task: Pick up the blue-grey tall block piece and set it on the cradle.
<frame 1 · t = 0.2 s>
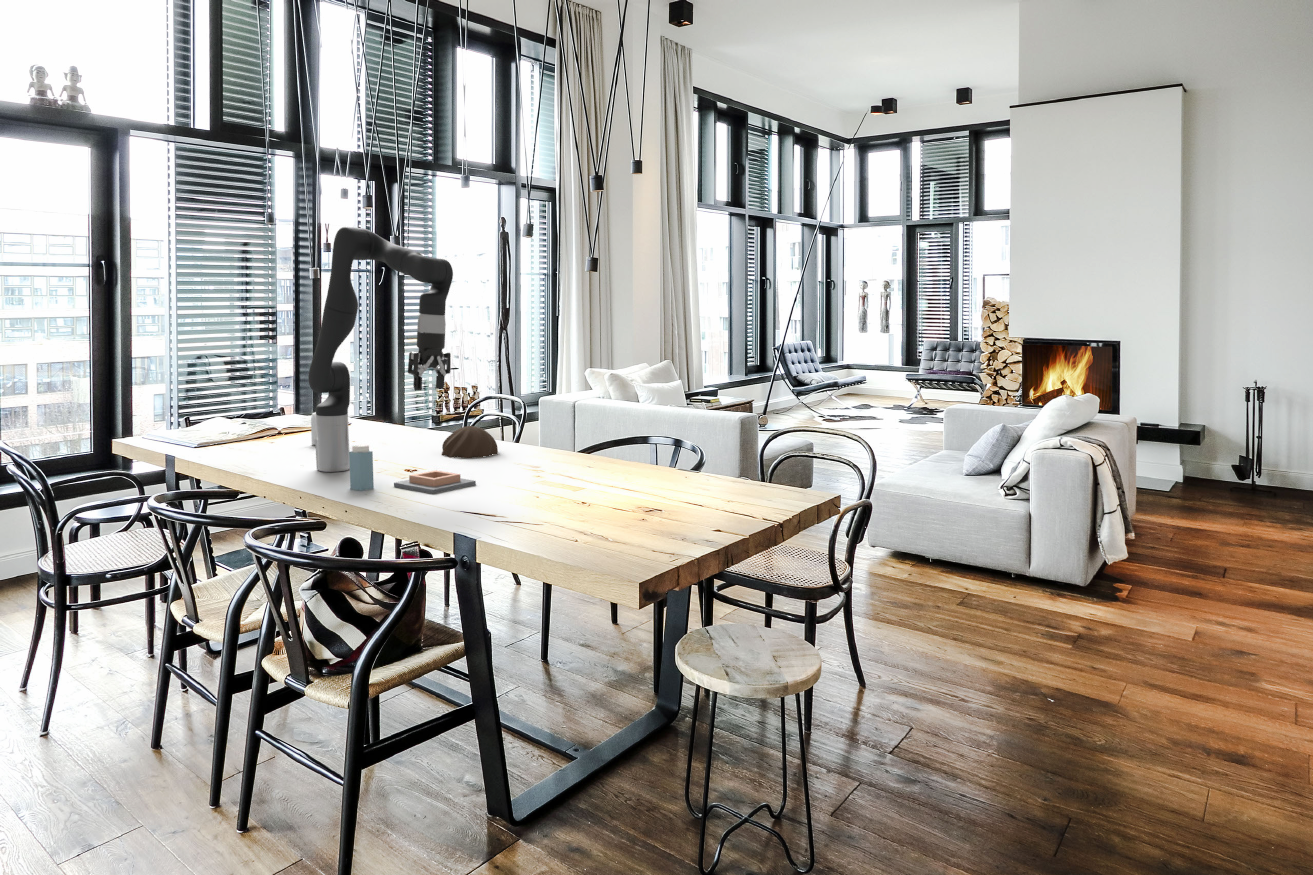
hand: (428, 389, 249), 28 cm above the table, tool pointing down, fingers open, 8 cm apart
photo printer: (326, 444, 327), on the table
cradle: (435, 485, 255), on the table
blue-grey tall block piece: (362, 488, 250), on the table
decorative dome: (470, 454, 311), on the table
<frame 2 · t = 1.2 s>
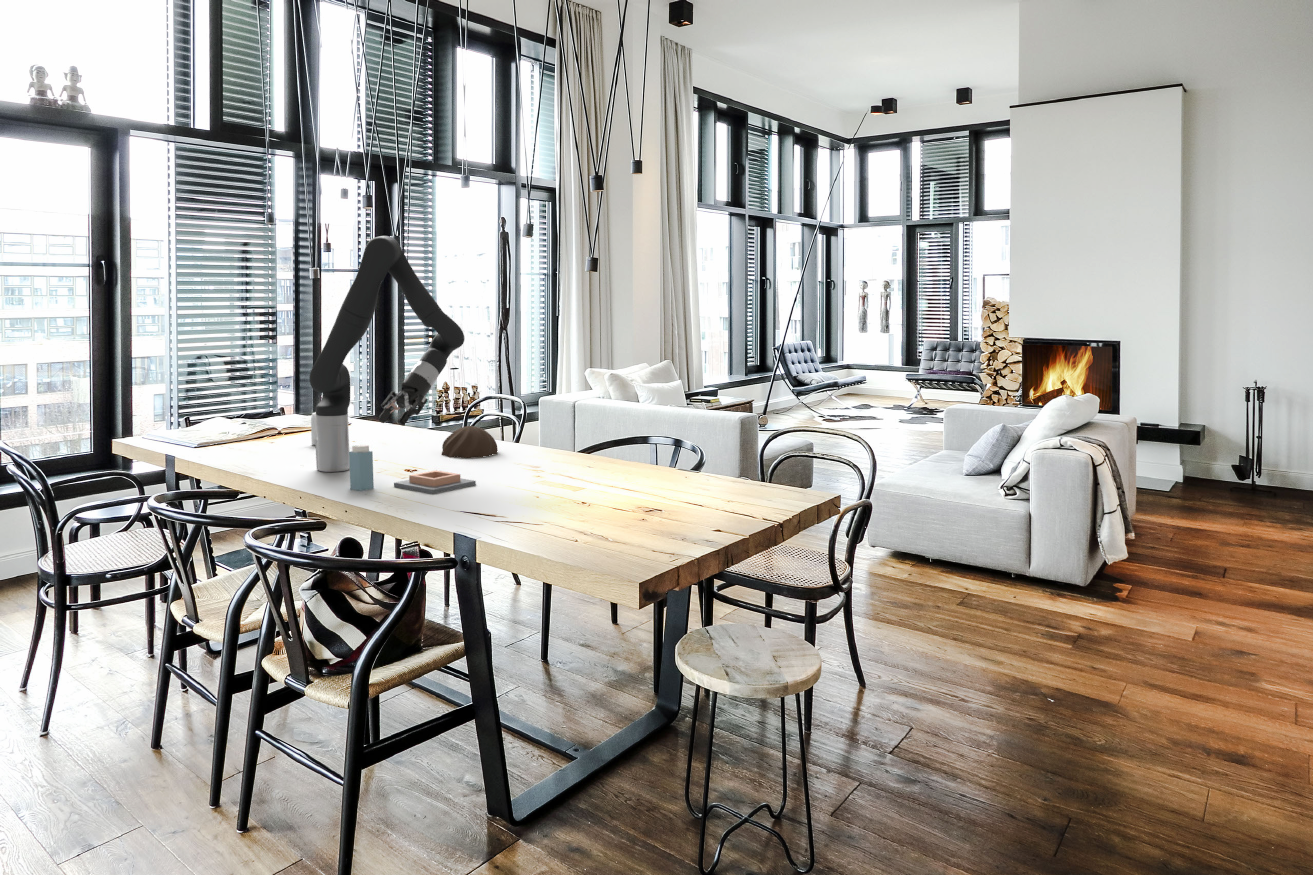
hand: (390, 422, 256), 18 cm above the table, tool tilted 45°, fingers open, 8 cm apart
nothing on the table moved.
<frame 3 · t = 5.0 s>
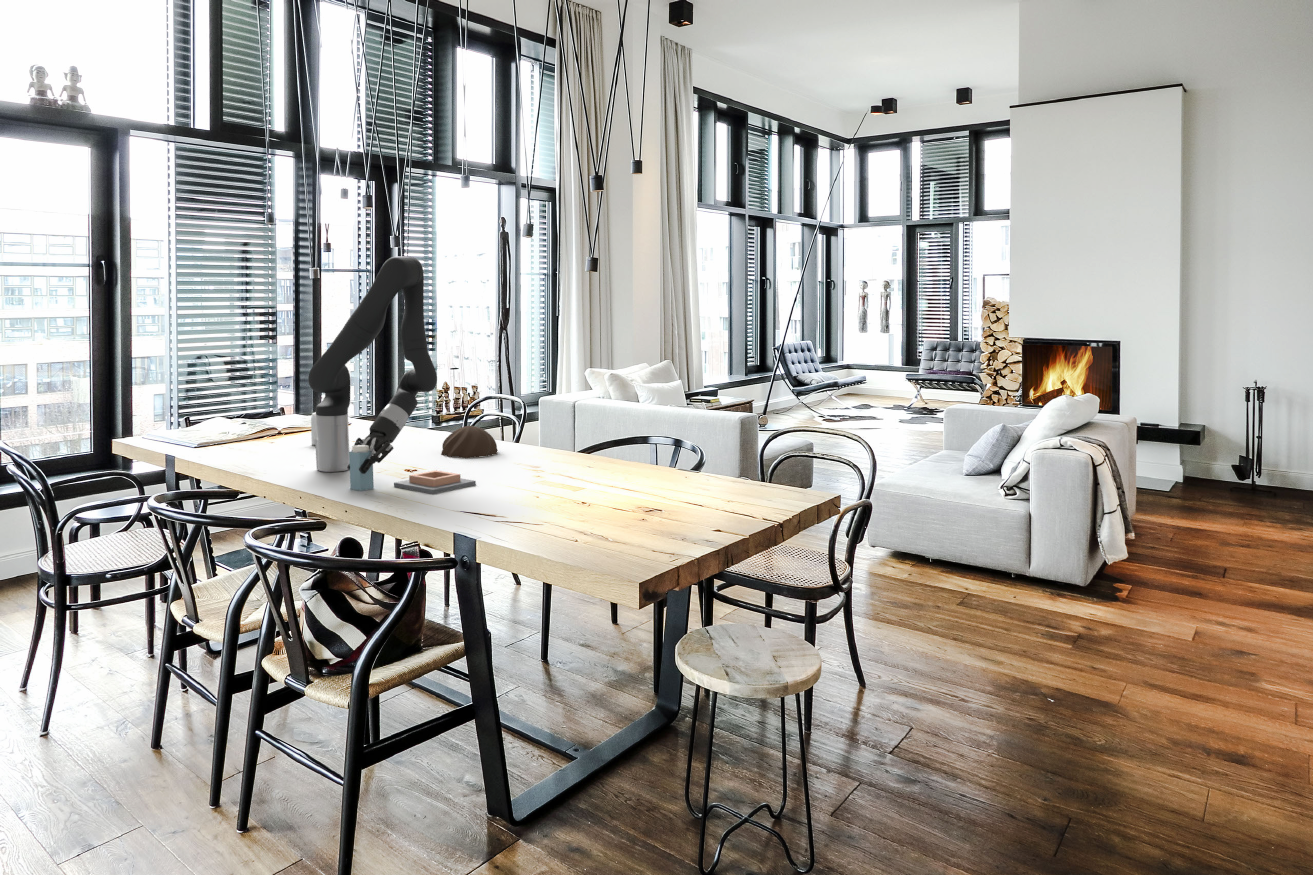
hand: (355, 470, 248), 5 cm above the table, tool tilted 45°, fingers closed on blue-grey tall block piece, 4 cm apart
blue-grey tall block piece: (362, 488, 250), on the table, touching gripper
everything else where it was.
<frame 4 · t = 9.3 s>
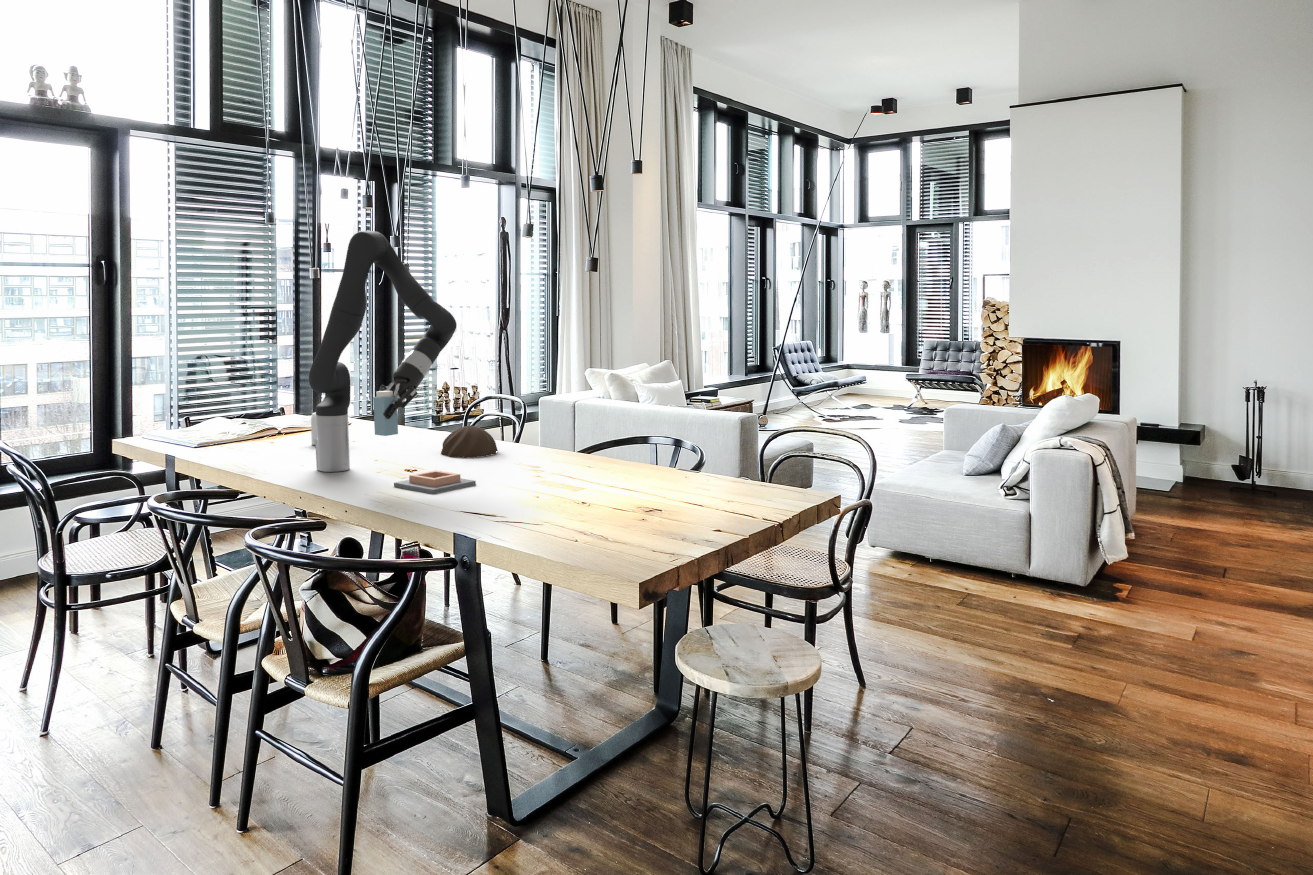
hand: (380, 416, 247), 20 cm above the table, tool tilted 45°, fingers closed on blue-grey tall block piece, 4 cm apart
blue-grey tall block piece: (386, 434, 249), point 15 cm above the table, touching gripper
everything else where it was.
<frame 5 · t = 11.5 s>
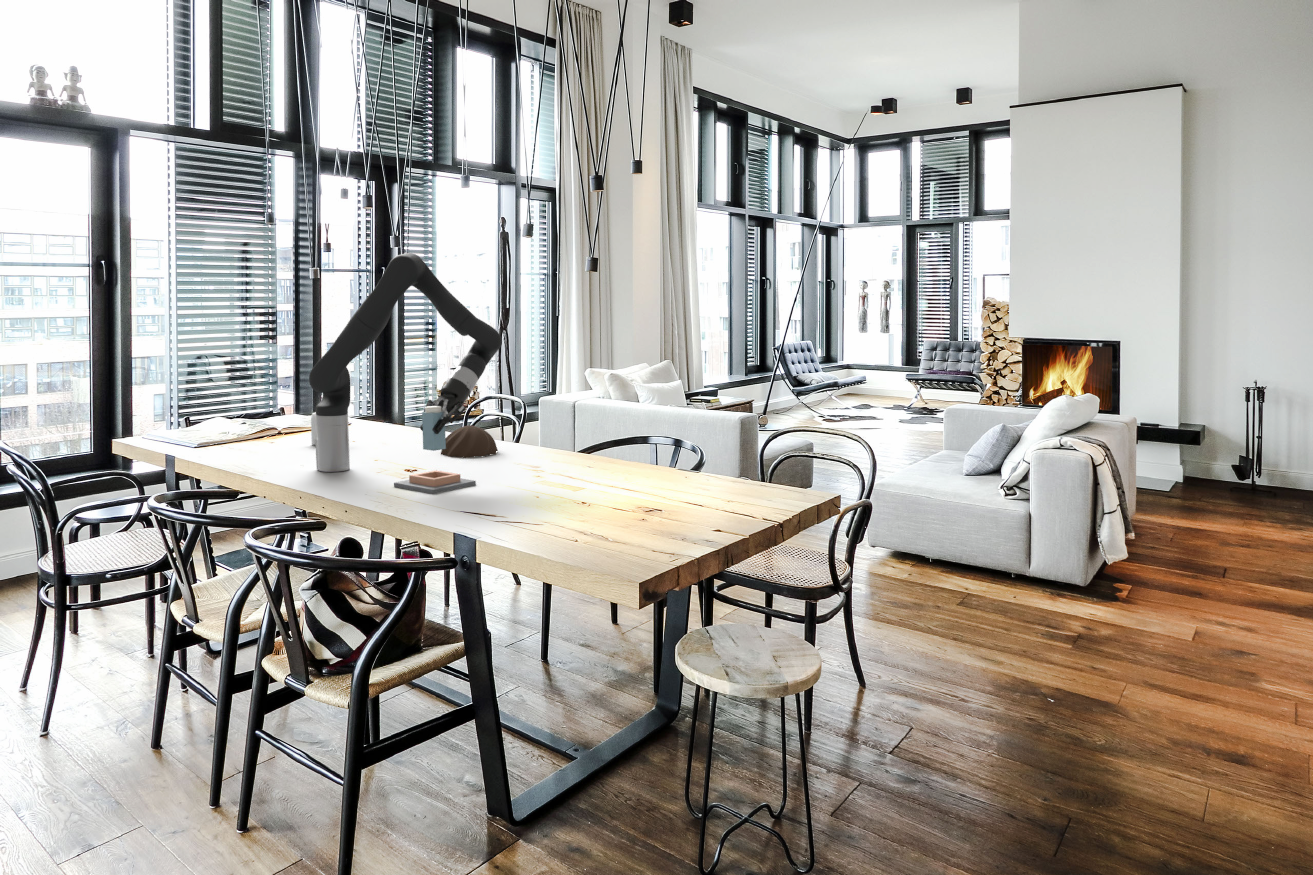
hand: (428, 431, 251), 16 cm above the table, tool tilted 45°, fingers closed on blue-grey tall block piece, 4 cm apart
blue-grey tall block piece: (434, 449, 254), point 11 cm above the table, touching gripper
when the fingers open (8 cm above the table, at t = 13.6 s): blue-grey tall block piece drops 1 cm, resting on cradle.
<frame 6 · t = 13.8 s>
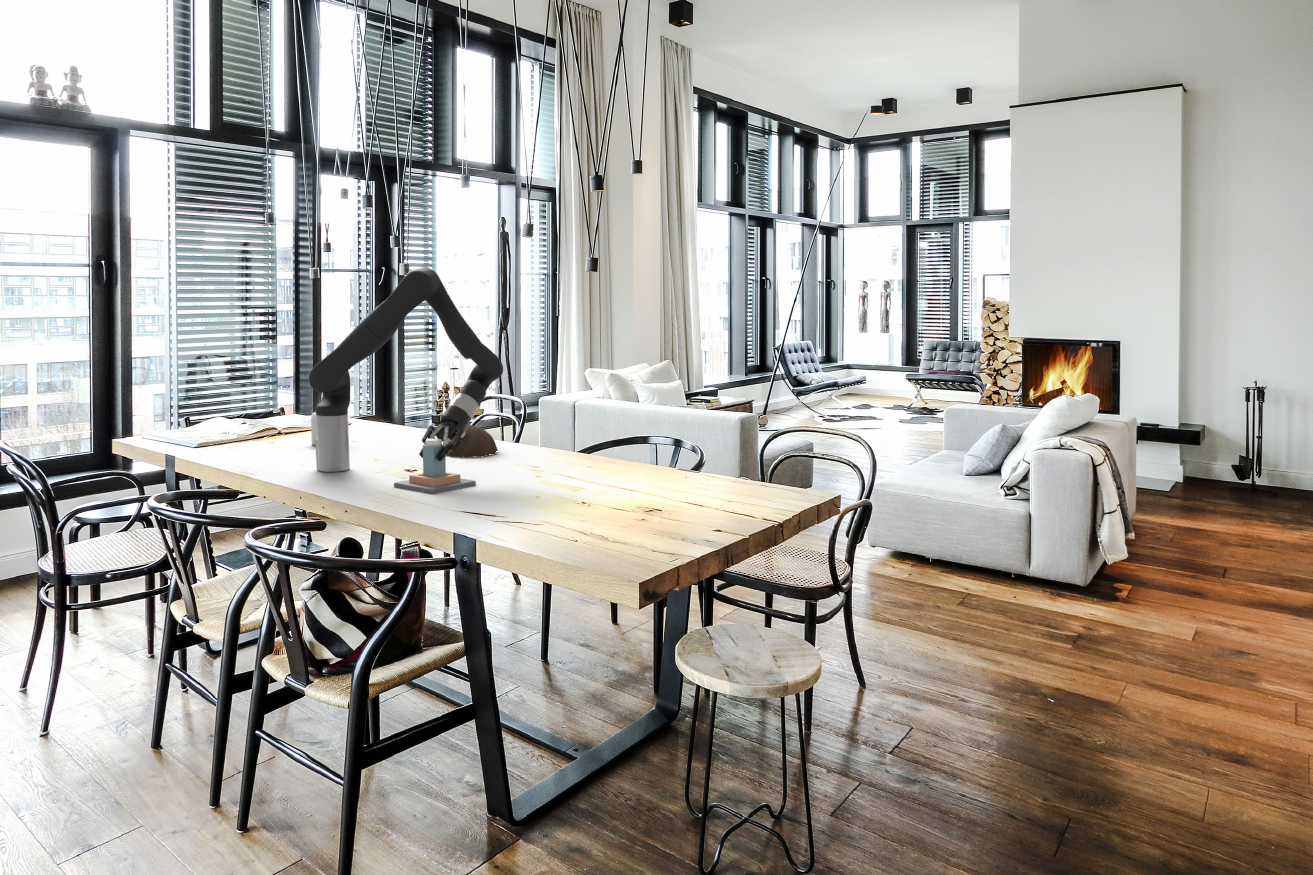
hand: (429, 457, 253), 8 cm above the table, tool tilted 45°, fingers open, 6 cm apart
blue-grey tall block piece: (434, 481, 255), point 1 cm above the table, touching cradle
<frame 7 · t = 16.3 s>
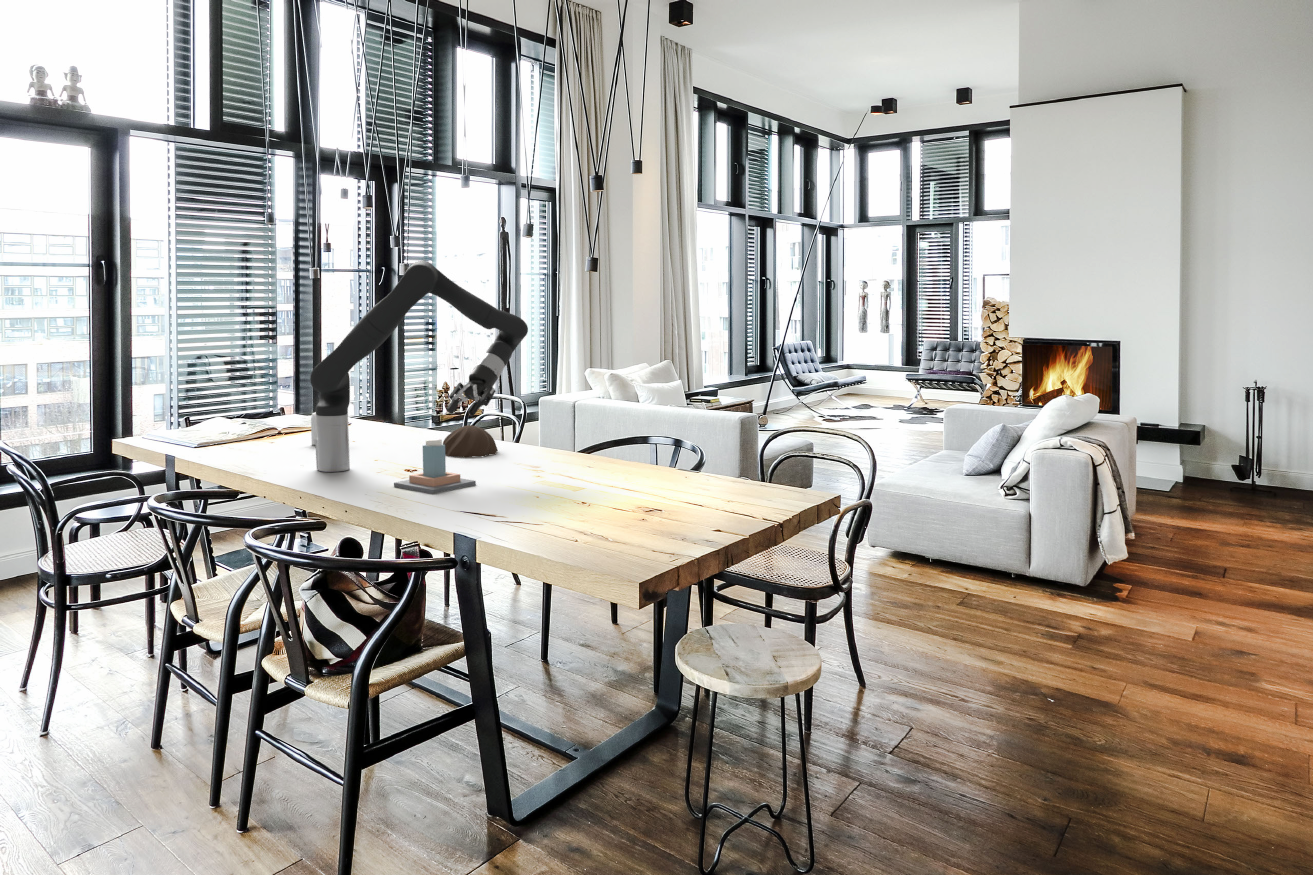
hand: (459, 413, 260), 20 cm above the table, tool tilted 45°, fingers open, 8 cm apart
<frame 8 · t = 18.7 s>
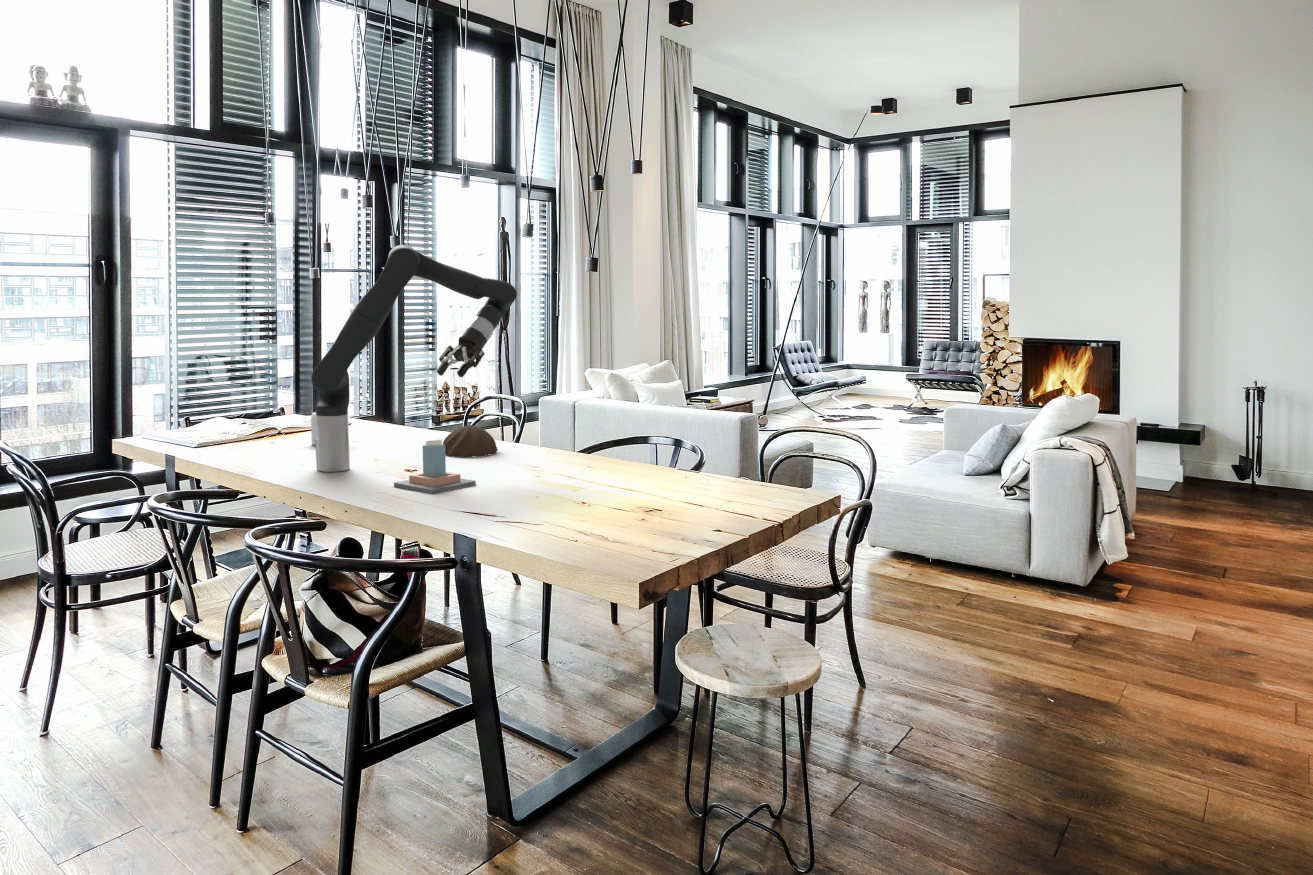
hand: (449, 374, 265), 31 cm above the table, tool tilted 45°, fingers open, 8 cm apart
at the end: blue-grey tall block piece 0.2 cm off-centre on the cradle, point 1.2 cm above the cradle's base; blue-grey tall block piece tilted 0°; the gripper is holding nothing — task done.
